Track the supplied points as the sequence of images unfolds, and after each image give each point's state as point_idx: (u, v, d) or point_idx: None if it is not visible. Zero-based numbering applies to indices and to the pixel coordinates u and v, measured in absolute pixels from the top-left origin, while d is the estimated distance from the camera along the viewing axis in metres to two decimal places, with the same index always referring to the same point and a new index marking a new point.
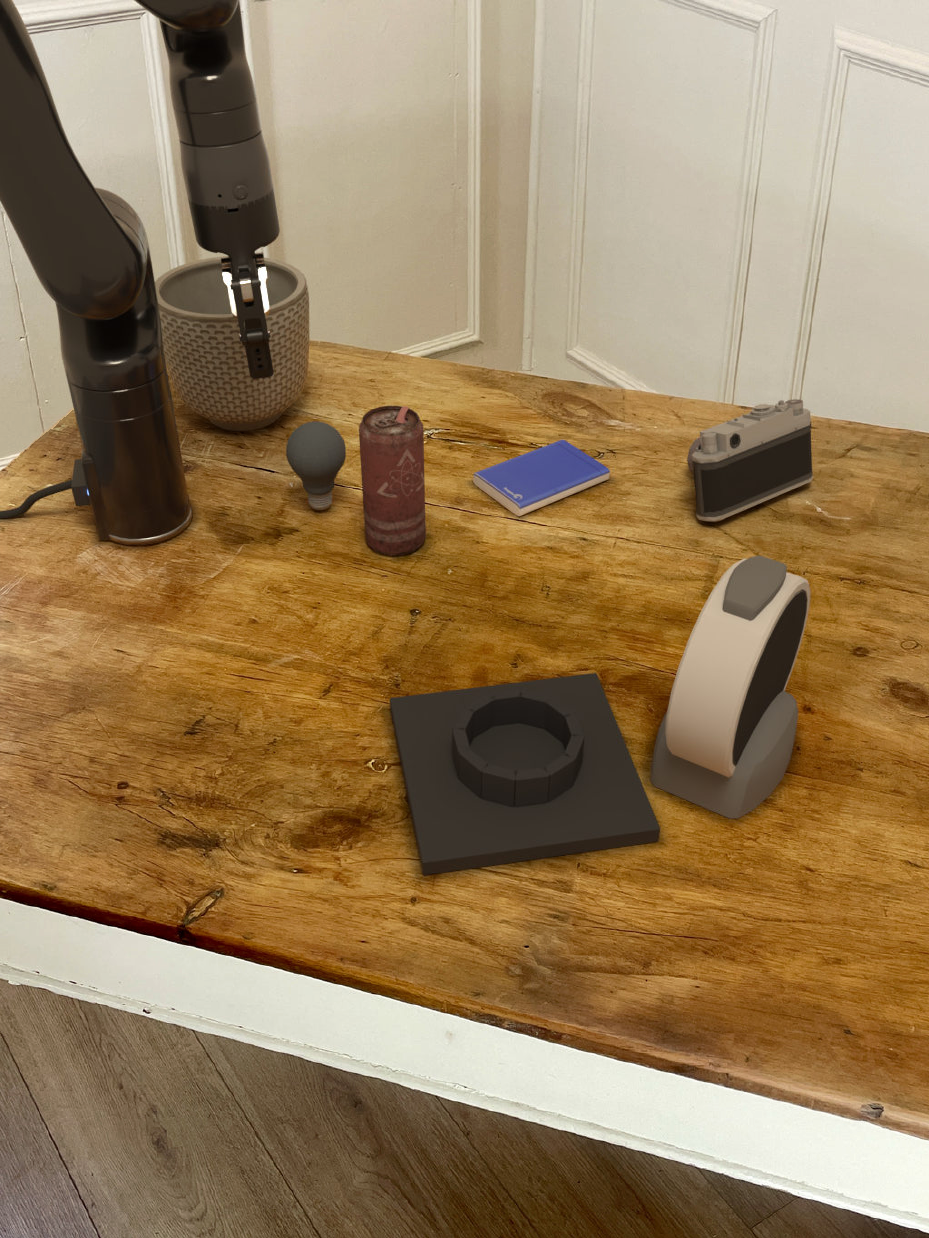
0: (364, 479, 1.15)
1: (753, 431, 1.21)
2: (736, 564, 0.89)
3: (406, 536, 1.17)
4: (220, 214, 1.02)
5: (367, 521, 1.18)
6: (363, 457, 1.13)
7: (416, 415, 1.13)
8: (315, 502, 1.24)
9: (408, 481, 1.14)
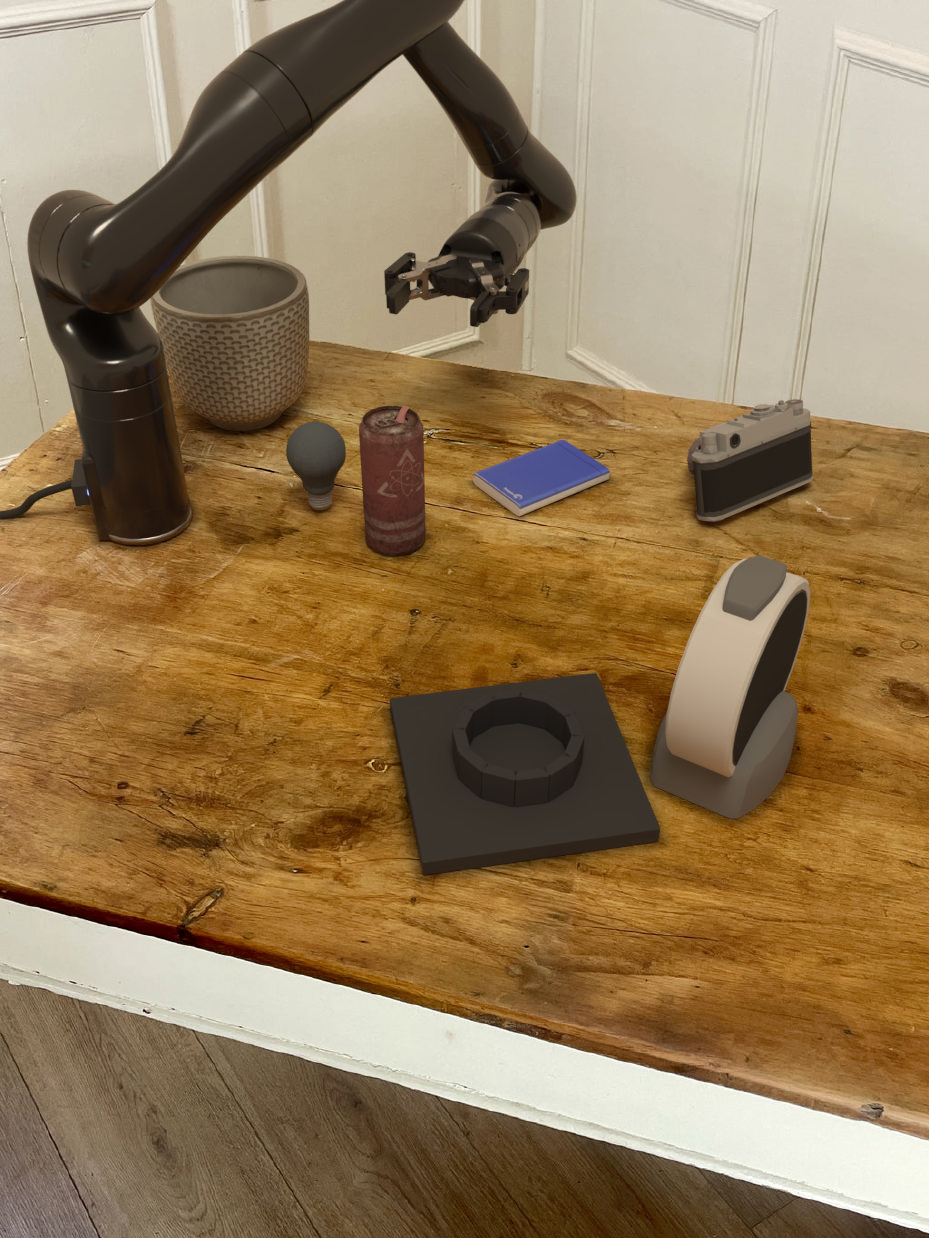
0: (364, 479, 1.15)
1: (753, 431, 1.21)
2: (736, 564, 0.89)
3: (406, 536, 1.17)
4: (514, 249, 1.26)
5: (367, 521, 1.18)
6: (363, 457, 1.13)
7: (416, 415, 1.13)
8: (315, 502, 1.24)
9: (408, 480, 1.14)
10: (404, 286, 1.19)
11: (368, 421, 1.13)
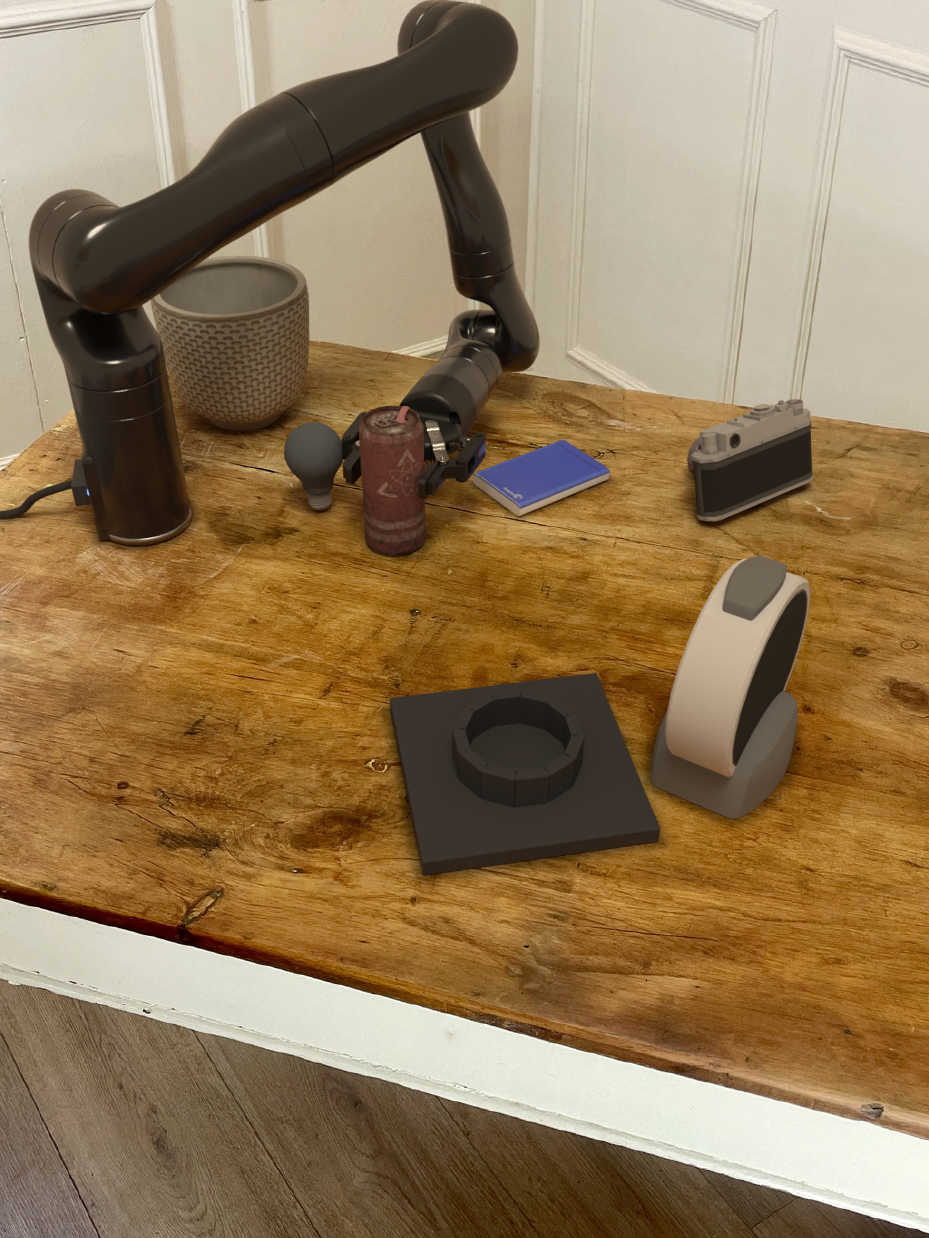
0: (364, 479, 1.15)
1: (753, 431, 1.21)
2: (736, 564, 0.89)
3: (406, 536, 1.17)
4: (473, 406, 1.24)
5: (367, 521, 1.18)
6: (363, 457, 1.13)
7: (416, 415, 1.13)
8: (315, 502, 1.24)
9: (408, 480, 1.14)
10: None
11: (368, 421, 1.13)
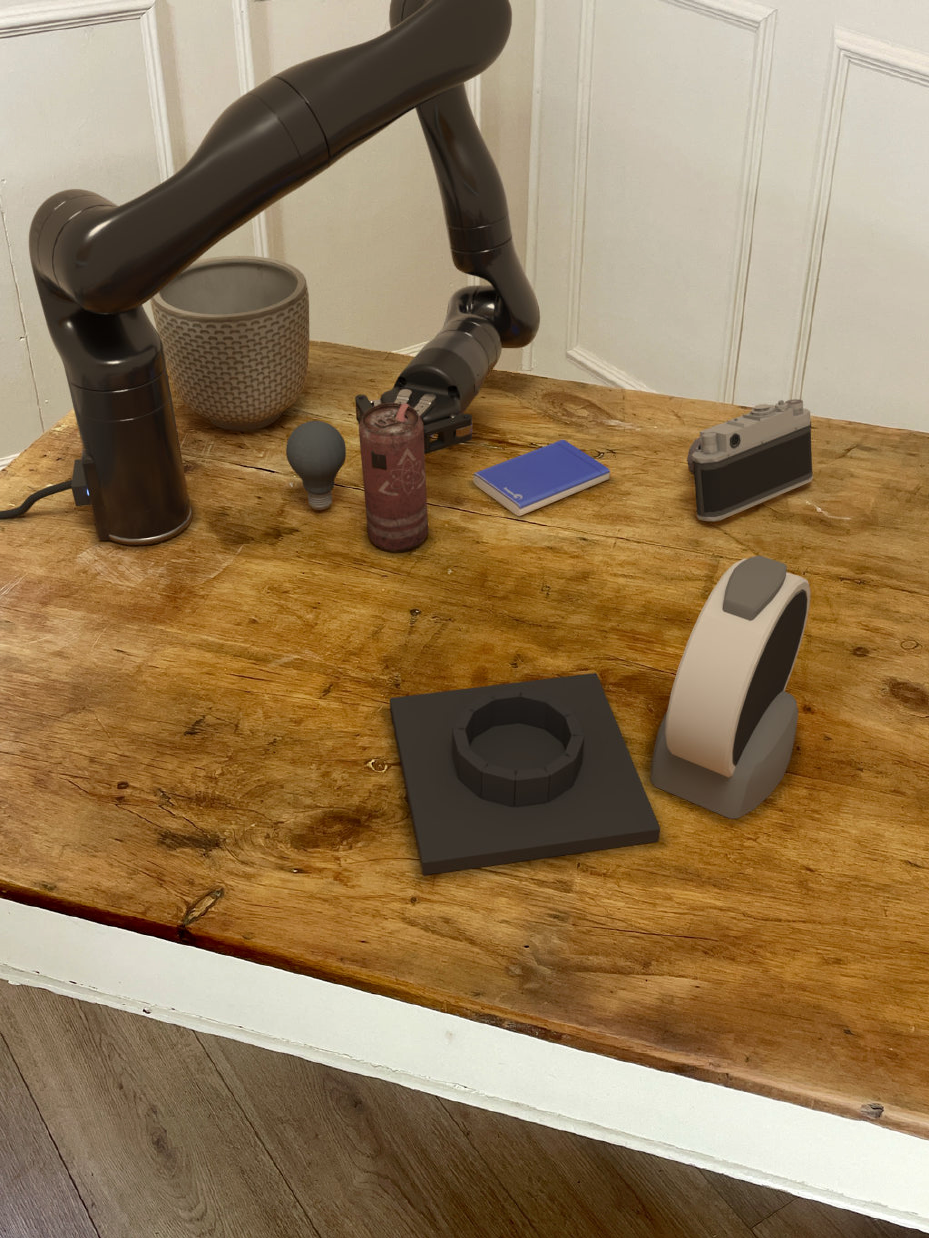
0: (365, 477, 1.15)
1: (753, 431, 1.21)
2: (736, 564, 0.89)
3: (408, 532, 1.18)
4: (472, 380, 1.22)
5: (369, 518, 1.18)
6: (364, 456, 1.13)
7: (416, 413, 1.13)
8: (315, 502, 1.24)
9: (409, 479, 1.14)
10: None
11: (368, 420, 1.12)
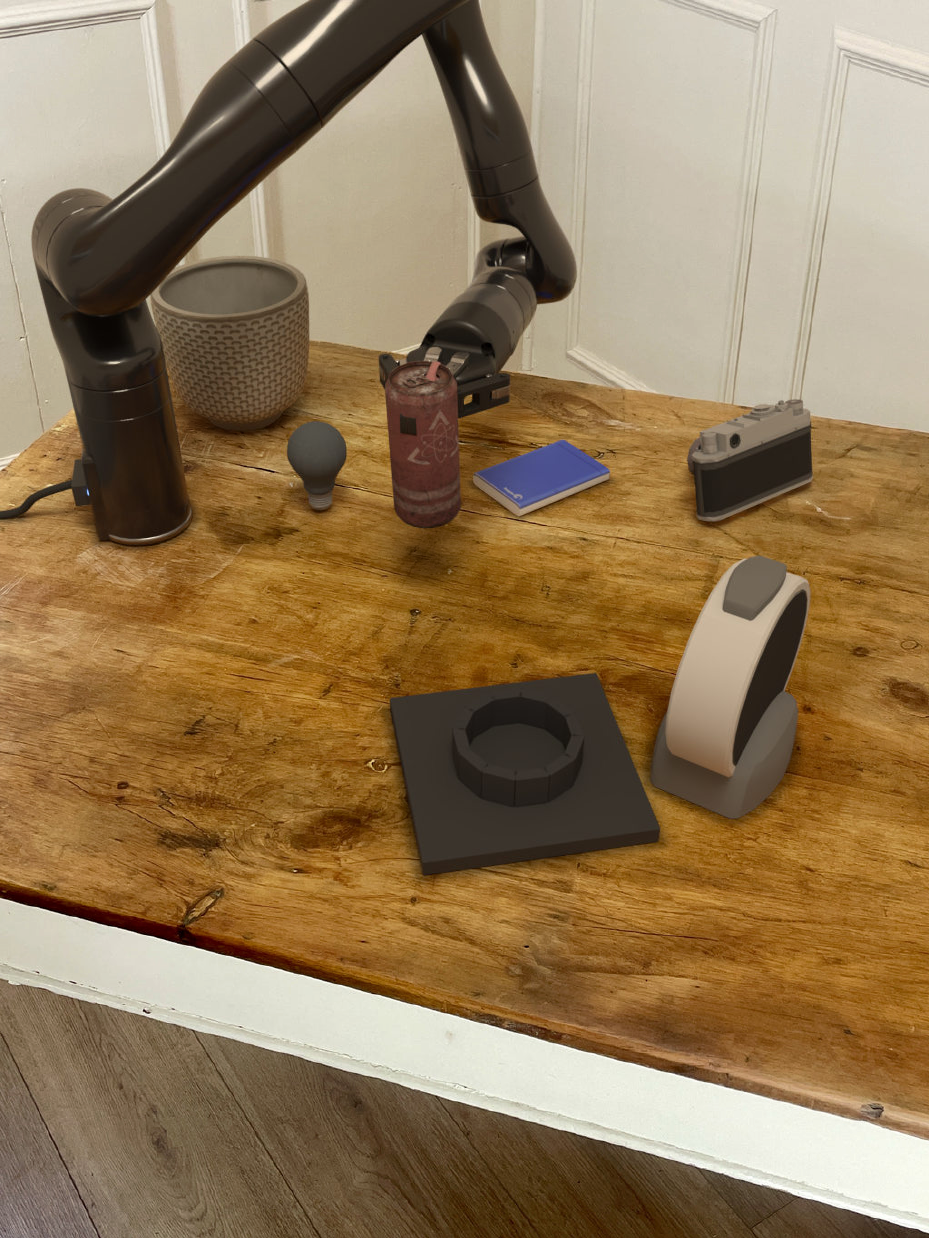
0: (392, 445, 1.03)
1: (753, 431, 1.21)
2: (736, 564, 0.89)
3: (440, 506, 1.05)
4: (507, 337, 1.10)
5: (396, 491, 1.06)
6: (390, 420, 1.01)
7: (448, 371, 1.01)
8: (315, 502, 1.24)
9: (441, 445, 1.01)
10: None
11: (395, 380, 1.00)
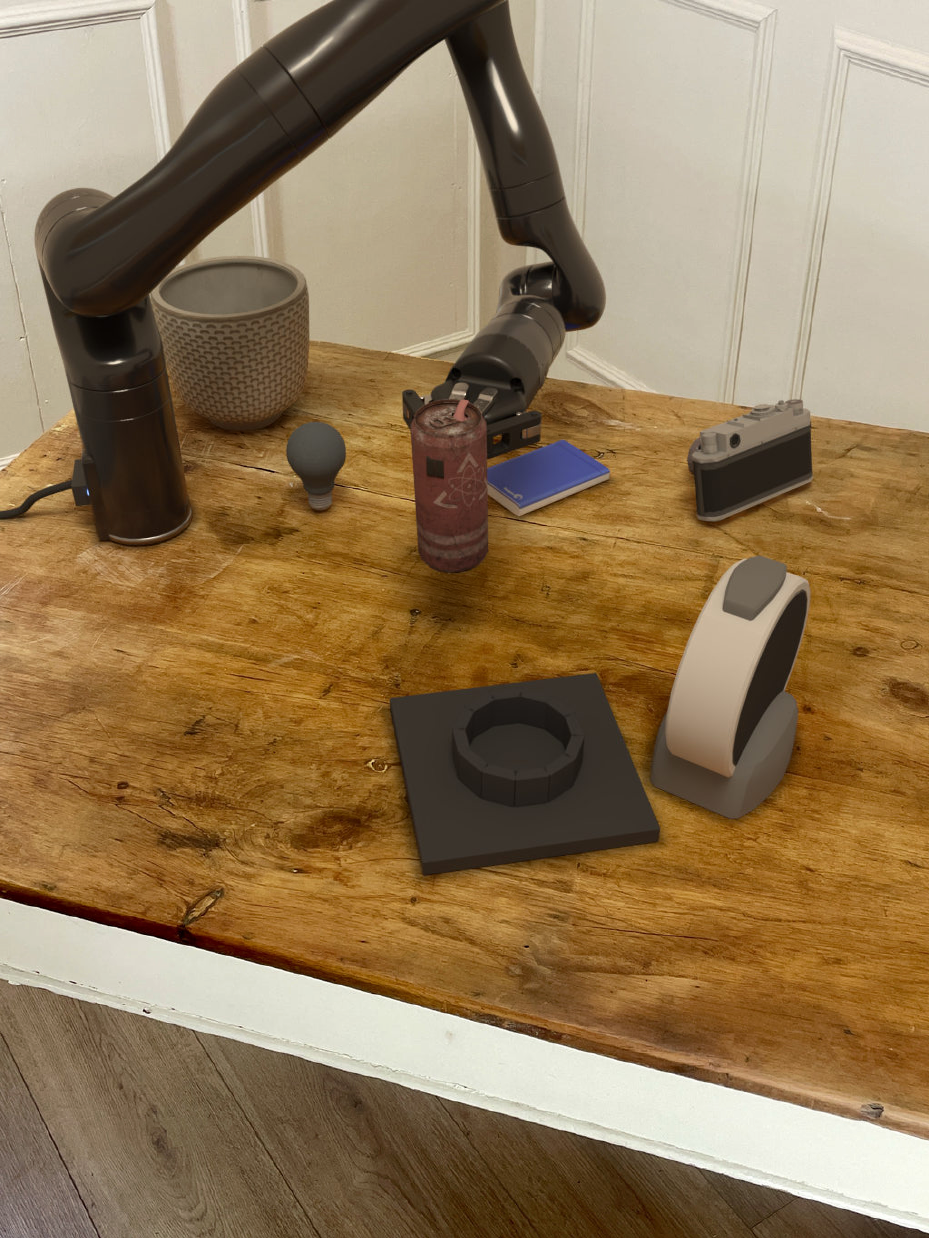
0: (418, 487, 0.97)
1: (753, 431, 1.21)
2: (736, 564, 0.89)
3: (467, 551, 1.00)
4: (537, 371, 1.05)
5: (421, 534, 1.01)
6: (416, 462, 0.96)
7: (477, 410, 0.96)
8: (315, 502, 1.24)
9: (470, 488, 0.96)
10: None
11: (421, 420, 0.95)
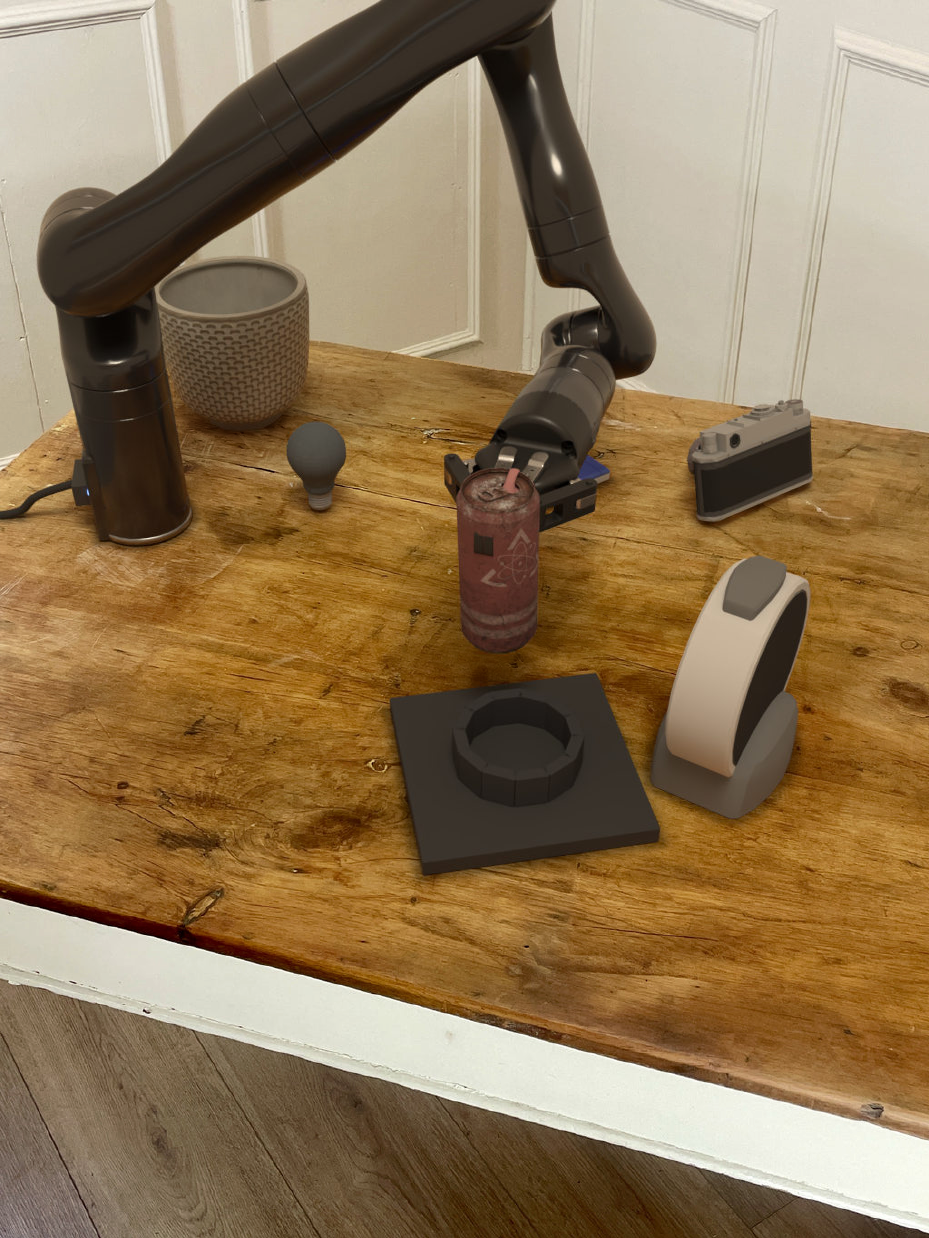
0: (463, 563, 0.89)
1: (753, 431, 1.21)
2: (736, 564, 0.89)
3: (515, 630, 0.92)
4: (589, 431, 0.97)
5: (465, 612, 0.92)
6: (462, 538, 0.88)
7: (529, 481, 0.87)
8: (315, 502, 1.24)
9: (520, 566, 0.88)
10: None
11: (468, 492, 0.87)
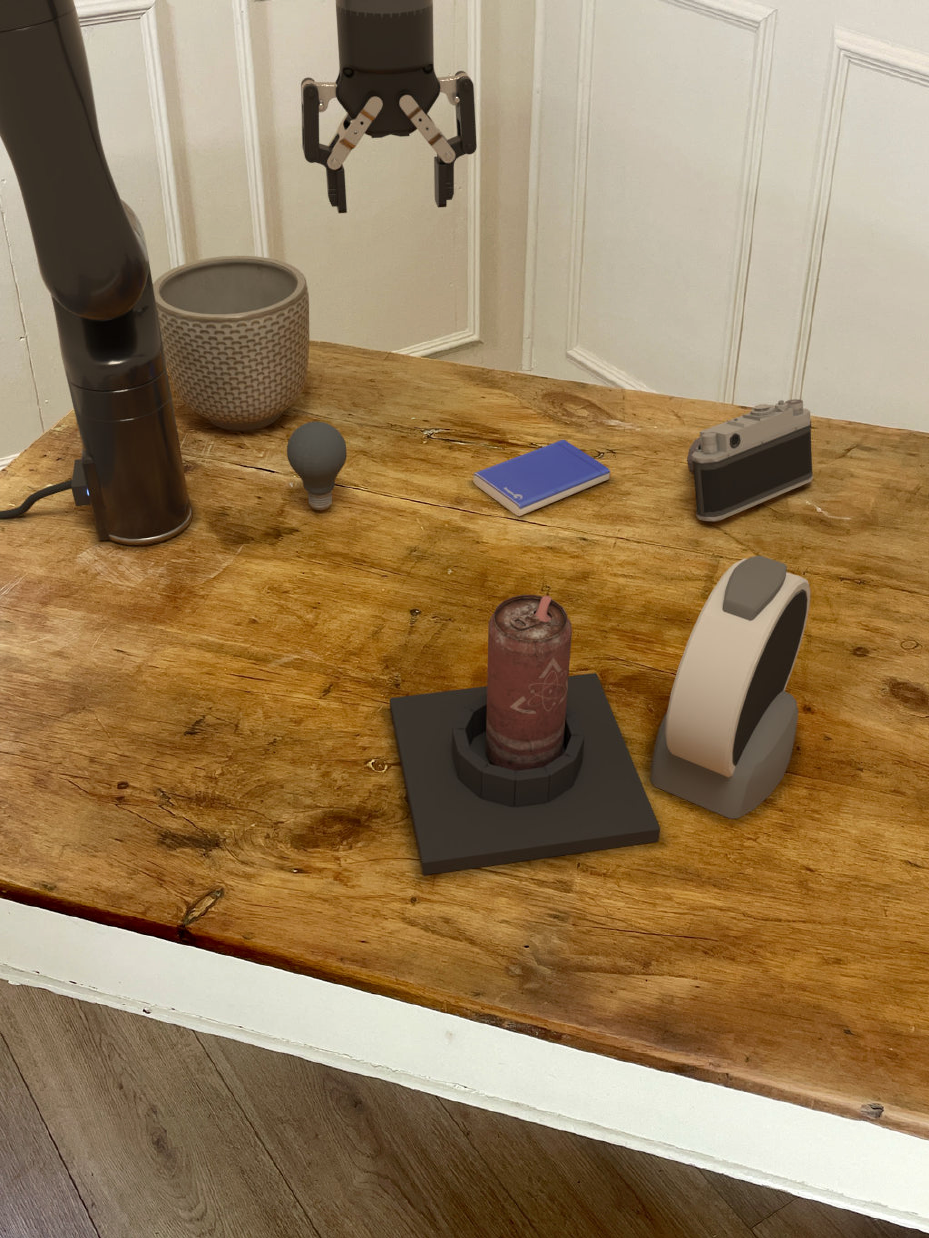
0: (493, 689, 0.89)
1: (753, 431, 1.21)
2: (736, 564, 0.89)
3: (542, 756, 0.92)
4: (432, 14, 0.92)
5: (492, 736, 0.92)
6: (493, 664, 0.87)
7: (562, 609, 0.88)
8: (315, 502, 1.24)
9: (551, 693, 0.88)
10: (344, 183, 0.99)
11: (501, 619, 0.87)
